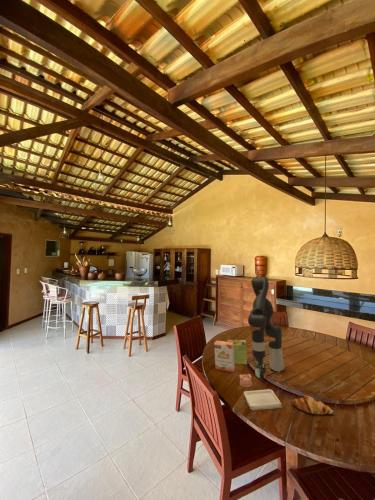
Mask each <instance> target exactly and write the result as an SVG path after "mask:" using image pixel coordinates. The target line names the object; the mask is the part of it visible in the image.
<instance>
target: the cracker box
mask: <svg viewBox="0 0 375 500" xmlns="http://www.w3.org/2000/svg"><path fill="white" fill-rule="evenodd" d="M213 343H214V363H215V365H214V366H215V370H219V371H224V372H229V373H233V372H234V371H235V365H236V364H234V346H233V342H228V341H224V340H216V341H215V342H213Z"/></svg>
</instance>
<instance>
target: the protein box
mask: <svg viewBox="0 0 375 500" xmlns="http://www.w3.org/2000/svg"><path fill="white" fill-rule="evenodd" d="M227 342H233V346H234V365H237V364H238V365H248V356H247V355H248V352H247V341H246V339H227Z"/></svg>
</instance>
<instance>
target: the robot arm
mask: <svg viewBox="0 0 375 500" xmlns="http://www.w3.org/2000/svg"><path fill="white" fill-rule="evenodd" d="M251 287H252V290H253V292H254V295H255V298H254V300H253V304H252V309H251V312H250V314H249V315H248V319H247V323H248V325H249V326H250V327H253V328H258V329H254V330H252V332H251V348H252V357H253V362H254V365H255V370H256V369H257V368H259V371H260V378H259V379H260V380H264V379H265V375H264V373H265V374H266V363H264V362H265V361H264V358H266V355H267V354H266V344H265V335H266V336H267V337H268V338H273V339H274V340H270V341H269V342H268V357H269V358H268V359H269V369H270V368H271V369H273V370H277V371H281V370H284V371H285V363H284V357H283V349H282V343H283V342H282V341H283V340H282V339H283V338H282V337H283V336H282V333H283V332H282V328H281V326H279V325H275V324H274V325H273V324H272V323H271V319H272V317H273V315H274V307H273V304H272V302H271V301H270V300H269V299H268V298H267V295H268V292H269V287H270V283H269V279H268V277H266V276H261V277H253V278H251ZM262 370H263V371H262Z"/></svg>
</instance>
